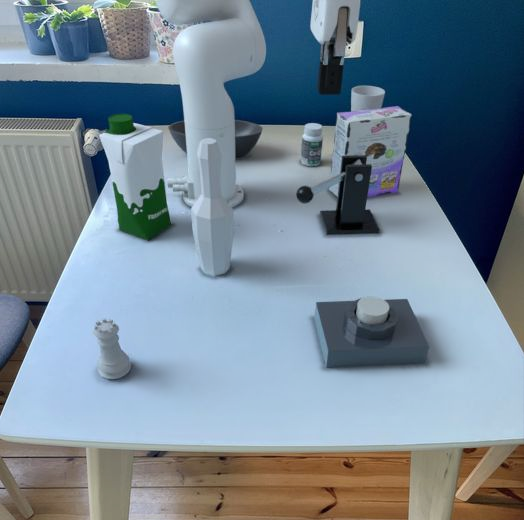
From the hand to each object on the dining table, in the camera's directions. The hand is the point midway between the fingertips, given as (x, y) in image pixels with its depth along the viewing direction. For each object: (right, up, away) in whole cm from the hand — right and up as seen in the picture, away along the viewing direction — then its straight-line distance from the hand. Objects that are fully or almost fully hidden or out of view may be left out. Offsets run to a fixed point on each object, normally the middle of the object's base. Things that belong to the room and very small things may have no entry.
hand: (328, 92), depth 79 cm
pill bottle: (+2, +6, +47) cm, 48 cm away
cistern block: (+6, -37, 0) cm, 37 cm away
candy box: (+12, -4, +36) cm, 38 cm away
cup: (+15, +15, +58) cm, 62 cm away
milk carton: (-32, -15, +23) cm, 42 cm away
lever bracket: (+7, -14, +25) cm, 30 cm away
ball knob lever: (+3, -8, +20) cm, 22 cm away
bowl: (-21, +9, +50) cm, 55 cm away
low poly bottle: (-18, -24, +13) cm, 33 cm away
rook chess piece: (-30, -41, -6) cm, 51 cm away
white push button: (+6, -33, -3) cm, 34 cm away
